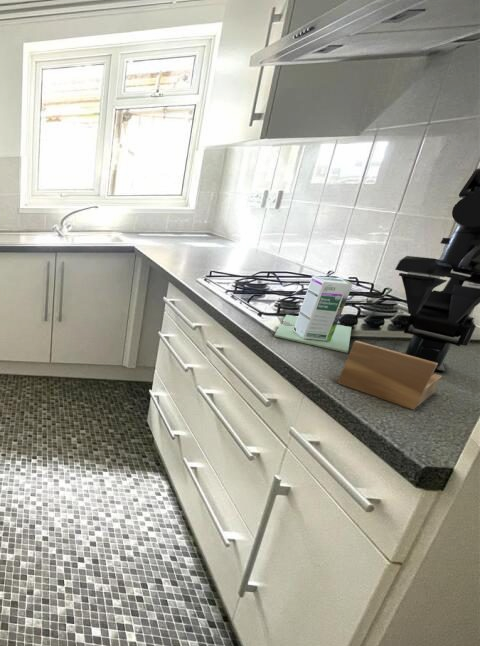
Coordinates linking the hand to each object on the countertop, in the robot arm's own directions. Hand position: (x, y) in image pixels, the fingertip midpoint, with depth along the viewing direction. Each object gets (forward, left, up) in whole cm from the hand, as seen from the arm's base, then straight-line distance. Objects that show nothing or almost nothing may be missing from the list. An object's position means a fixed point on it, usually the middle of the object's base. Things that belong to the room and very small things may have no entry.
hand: (432, 318), depth 79 cm
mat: (-18, -16, -13) cm, 27 cm away
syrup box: (-12, -16, -12) cm, 24 cm away
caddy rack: (+8, -3, -13) cm, 16 cm away
